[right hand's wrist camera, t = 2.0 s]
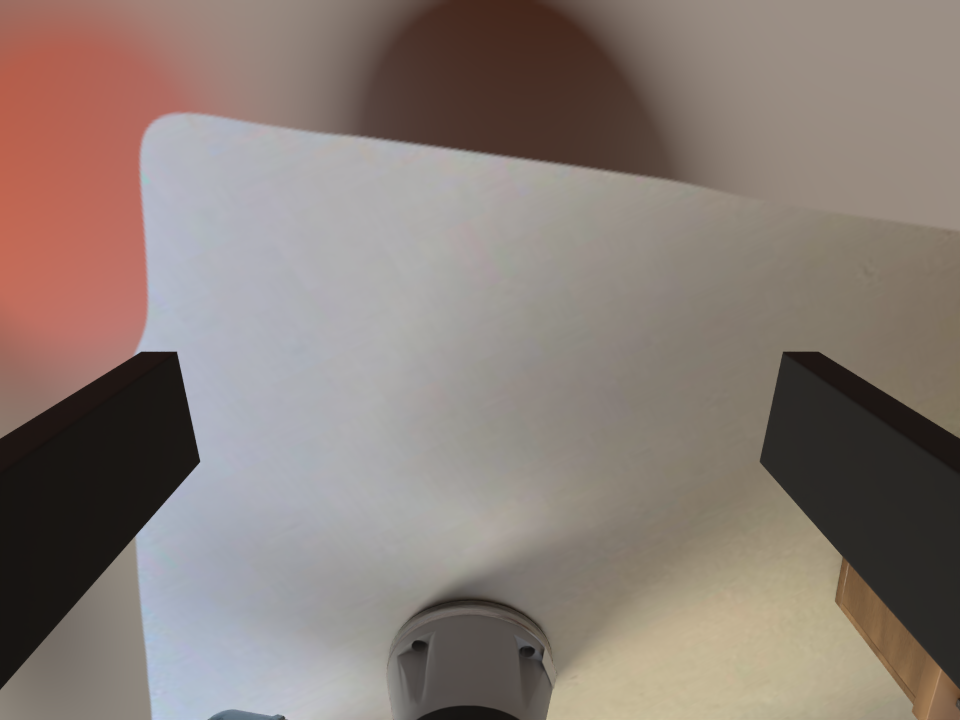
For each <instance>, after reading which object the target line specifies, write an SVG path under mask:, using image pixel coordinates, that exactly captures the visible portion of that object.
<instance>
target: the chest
mask: <svg viewBox="0 0 960 720" xmlns="http://www.w3.org/2000/svg"><path fill="white" fill-rule="evenodd" d="M835 602H836V603H837V605H838V606H839V607H840V608H841V610H842V611H843V613H844V614H845V615H846V616H847V618H848V619H849V620H850V622H851V623H852V624H853V626H854V627H855V628H856V630H857V631H858V632H859V634H860V635H861V636H862V638H863V639H864V640H865V642H866V643H867V644H868V645H869V647H870V648H871V649H872V651H873V652H874V653H875V655H876V656H877V657H878V659H879V660H880V661H881V663H882V664H883V665H884V667H885V668H886V669H887V671H888V672H889V673H890V674H891V676H892V677H893V678H894V680H895V681H896V682H897V684H898V685H899V686H900V688H901V689H902V690H903V692H904V693H905V694H906V696H907V697H908V698H909V699H910V701H911V702H912V703H913V705H914V702H915V698H916V694H917V691H918V687H919V683H920V680H921V676H922V672H923V669H924V665H925V661H926V658H927V654H928V653H927V652H926V651H925V650H924V648H923V647H922V646H921V645H920V644H919V643H918V642H917V640H916V639H915V638H914V637H913V636H912V635H911V634H910V632H909V631H908V630H907V629H906V628H905V627H904V626H903V624H902V623H901V622H900V621H899V620H898V619H897V618H896V616H895V615H894V614H893V613H892V612H891V611H890V610H889V609H888V607H887V606H886V605H885V604H884V603H883V602H882V601H881V599H880V598H879V597H878V596H877V595H876V594H875V593H874V591H873V590H872V589H871V588H870V587H869V586H868V585H867V583H866V582H865V581H864V580H863V579H862V578H861V577H860V575H859V574H858V573H857V572H856V571H855V570H854V569H853V568H852V566H851V565H850V564H849V563H848V562H847V561H846V560H845V558H844V557H843V561H842V567H841V572H840V578H839V583H838V589H837V594H836V600H835Z"/></svg>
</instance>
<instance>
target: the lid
mask: <svg viewBox="0 0 960 720" xmlns="http://www.w3.org/2000/svg"><path fill="white" fill-rule="evenodd" d="M912 712H913V714H914V715H915V716H916V718H917V719H918V720H960V689H959V688H958V687H957V686H956V685H955V684H954V683H953V681H952V680H951V679H950V678H949V677H948V676H947V675H946V673H945V672H944V671H943V670H942V669H941V668H940V667H939V665H938V664H937V663H936V662H935V661H934V660H933V659H932V658H931V656H930V655H929V654H927V658H926V661H925V665H924V669H923V672H922V676H921V680H920V683H919V687H918V691H917V694H916V698H915V702H914V705H913V709H912Z"/></svg>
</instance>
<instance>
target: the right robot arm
mask: <svg viewBox="0 0 960 720" xmlns="http://www.w3.org/2000/svg"><path fill="white" fill-rule="evenodd" d="M199 463H200V458H199V454H198V449H197V444H196V439H195V435H194V430H193V425H192V421H191V416H190V411H189V406H188V402H187V397H186V392H185V388H184V383H183V378H182V373H181V369H180V364H179V359H178V355H177V352H140V353H139V354H137V355H135V356H134V357H132V358H131V359H129V360H127V361H126V362H124V363H122V364H121V365H119V366H118V367H116V368H114V369H113V370H111V371H109V372H108V373H106V374H105V375H103V376H101V377H100V378H98V379H96V380H95V381H93V382H92V383H90V384H88V385H87V386H85V387H83V388H82V389H80V390H79V391H77V392H75V393H74V394H72V395H71V396H69V397H67V398H66V399H64V400H62V401H61V402H59V403H58V404H56V405H54V406H53V407H51V408H49V409H48V410H46V411H45V412H43V413H41V414H40V415H38V416H36V417H35V418H33V419H32V420H30V421H28V422H27V423H25V424H23V425H22V426H20V427H19V428H17V429H15V430H14V431H12V432H10V433H9V434H7V435H6V436H4V437H2V438H1V439H0V689H1V688H2V687H3V686H4V685H5V684H6V683H7V681H8V680H9V679H10V678H11V677H12V676H13V675H14V673H15V672H16V671H17V670H18V669H19V668H20V667H21V665H22V664H23V663H24V662H25V661H26V660H27V659H28V658H29V656H30V655H31V654H32V653H33V652H34V651H35V650H36V648H37V647H38V646H39V645H40V644H41V643H42V642H43V640H44V639H45V638H46V637H47V636H48V635H49V634H50V632H51V631H52V630H53V629H54V628H55V627H56V626H57V624H58V623H59V622H60V621H61V620H62V619H63V618H64V616H65V615H66V614H67V613H68V612H69V611H70V610H71V608H72V607H73V606H74V605H75V604H76V603H77V602H78V601H79V599H80V598H81V597H82V596H83V595H84V594H85V593H86V591H87V590H88V589H89V588H90V587H91V586H92V585H93V583H94V582H95V581H96V580H97V579H98V578H99V577H100V575H101V574H102V573H103V572H104V571H105V570H106V569H107V567H108V566H109V565H110V564H111V563H112V562H113V561H114V560H115V558H116V557H117V556H118V555H119V554H120V553H121V552H122V550H123V549H124V548H125V547H126V546H127V545H128V544H129V542H130V541H131V540H132V539H133V538H134V537H135V536H136V534H137V533H138V532H139V531H140V530H141V529H142V528H143V526H144V525H145V524H146V523H147V522H148V521H149V520H150V519H151V517H152V516H153V515H154V514H155V513H156V512H157V511H158V509H159V508H160V507H161V506H162V505H163V504H164V503H165V501H166V500H167V499H168V498H169V497H170V496H171V495H172V493H173V492H174V491H175V490H176V489H177V488H178V487H179V485H180V484H181V483H182V482H183V481H184V480H185V479H186V478H187V476H188V475H189V474H190V473H191V472H192V471H193V470H194V468H195V467H196V466H197V465H198V464H199ZM760 463H761V464H762V465H763V466H764V467H765V468H766V470H767V471H768V472H769V473H770V474H771V475H772V476H773V478H774V479H775V480H776V481H777V482H778V483H779V484H780V485H781V487H782V488H783V489H784V490H785V491H786V492H787V493H788V495H789V496H790V497H791V498H792V499H793V500H794V501H795V503H796V504H797V505H798V506H799V507H800V508H801V509H802V511H803V512H804V513H805V514H806V515H807V516H808V517H809V519H810V520H811V521H812V522H813V523H814V524H815V525H816V526H817V528H818V529H819V530H820V531H821V532H822V533H823V534H824V536H825V537H826V538H827V539H828V540H829V541H830V542H831V544H832V545H833V546H834V547H835V548H836V549H837V550H838V552H839V553H840V554H841V555H842V556H843V557H844V558H845V560H846V561H847V562H848V563H849V564H850V565H851V566H852V568H853V569H854V570H855V571H856V572H857V573H858V574H859V575H860V577H861V578H862V579H863V580H864V581H865V582H866V583H867V585H868V586H869V587H870V588H871V589H872V590H873V591H874V593H875V594H876V595H877V596H878V597H879V598H880V599H881V601H882V602H883V603H884V604H885V605H886V606H887V607H888V609H889V610H890V611H891V612H892V613H893V614H894V615H895V616H896V618H897V619H898V620H899V621H900V622H901V623H902V624H903V626H904V627H905V628H906V629H907V630H908V631H909V632H910V634H911V635H912V636H913V637H914V638H915V639H916V640H917V642H918V643H919V644H920V645H921V646H922V647H923V648H924V650H925V651H926V652H927V653H928V654H929V655H930V656H931V658H932V659H933V660H934V661H935V662H936V663H937V664H938V665H939V667H940V668H941V669H942V670H943V671H944V672H945V673H946V675H947V676H948V677H949V678H950V679H951V680H952V681H953V683H954V684H955V685H956V686H957V687H958V688H959V689H960V439H959V438H958V437H956V436H954V435H953V434H951V433H950V432H948V431H946V430H945V429H943V428H941V427H940V426H938V425H937V424H935V423H933V422H932V421H930V420H928V419H927V418H925V417H924V416H922V415H920V414H919V413H917V412H915V411H914V410H912V409H911V408H909V407H907V406H906V405H904V404H902V403H901V402H899V401H898V400H896V399H894V398H893V397H891V396H889V395H888V394H886V393H885V392H883V391H881V390H880V389H878V388H877V387H875V386H873V385H872V384H870V383H868V382H867V381H865V380H864V379H862V378H860V377H859V376H857V375H855V374H854V373H852V372H851V371H849V370H847V369H846V368H844V367H842V366H841V365H839V364H838V363H836V362H834V361H833V360H831V359H829V358H828V357H826V356H825V355H823V354H821V353H820V352H783V355H782V359H781V364H780V369H779V373H778V378H777V383H776V388H775V392H774V397H773V402H772V406H771V411H770V416H769V421H768V425H767V430H766V435H765V439H764V444H763V449H762V454H761V458H760ZM556 674H557V673H556V670H555V668H554V666H553V660H552V654H551V649H550V646H549V643H548V641H547V639H546V637H545V635H544V634H543V632H542V631H541V630H540V629H539V627H538V626H537V625H536V624H535V623H533V622H532V621H531V620H530V619H529V618H527V617H526V616H524V615H523V614H521V613H519V612H517V611H515V610H513V609H511V608H508V607H505V606H502V605H499V604H495V603H491V602H485V601H456V602H449V603H445V604H441V605H437V606H434V607H432V608H429V609H427V610H425V611H423V612H421V613H419V614H418V615H416V616H414V617H413V618H412V619H410V620H409V621H408V622H407V623H406V624H405V625H404V626H403V627H402V628H401V629H400V630H399V632H398V633H397V635H396V637H395V638H394V640H393V643H392V646H391V649H390V654H389V660H388V665H387V685H388V691H389V697H390V703H391V708H392V714H393V720H546V717H547V712H548V708H549V703H550V698H551V694H552V689H553V688H554V685H555V680H556ZM208 720H286V719H285V717H284V716H282V715H275V716H267V715H262V714H256V713H250V712H245V711H240V710H226V711H222V712H220V713H218V714H215V715H214V716H212V717H211V718H209V719H208Z"/></svg>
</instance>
